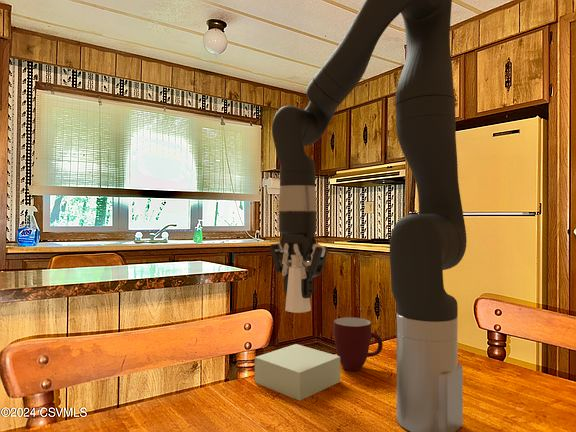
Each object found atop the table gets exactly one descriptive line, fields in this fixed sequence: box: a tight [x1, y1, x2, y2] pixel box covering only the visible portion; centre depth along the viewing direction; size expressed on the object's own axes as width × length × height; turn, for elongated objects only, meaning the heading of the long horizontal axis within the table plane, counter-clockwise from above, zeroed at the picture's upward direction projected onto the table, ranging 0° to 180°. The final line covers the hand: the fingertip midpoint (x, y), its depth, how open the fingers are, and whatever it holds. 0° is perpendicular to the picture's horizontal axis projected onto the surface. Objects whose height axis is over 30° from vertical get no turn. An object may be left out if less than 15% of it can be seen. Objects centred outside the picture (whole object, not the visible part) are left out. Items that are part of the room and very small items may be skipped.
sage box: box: [254, 343, 341, 402], centre depth 84 cm, size 12×12×5 cm
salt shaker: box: [285, 255, 312, 313], centre depth 84 cm, size 5×5×11 cm
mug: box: [333, 316, 384, 372], centre depth 92 cm, size 10×8×10 cm
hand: (297, 295), depth 84 cm, fingers closed on salt shaker, 4 cm apart
